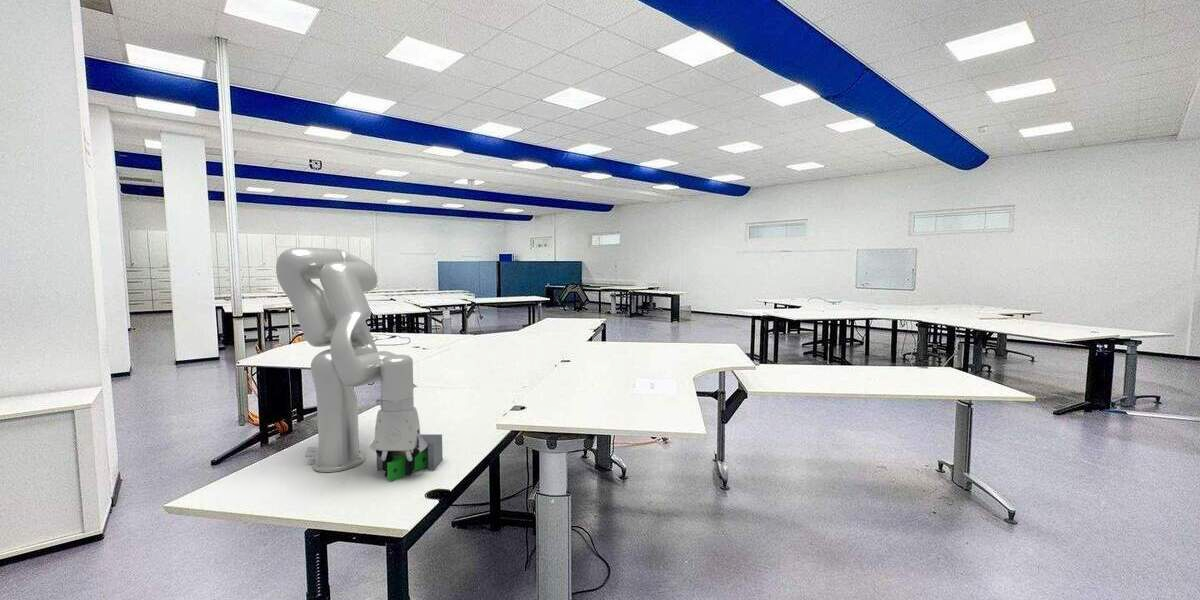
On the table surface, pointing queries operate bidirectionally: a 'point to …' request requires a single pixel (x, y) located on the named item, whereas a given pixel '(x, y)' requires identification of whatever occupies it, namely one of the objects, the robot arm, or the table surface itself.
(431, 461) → the grey sleeve
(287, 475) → the table surface
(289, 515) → the table surface
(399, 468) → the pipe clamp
